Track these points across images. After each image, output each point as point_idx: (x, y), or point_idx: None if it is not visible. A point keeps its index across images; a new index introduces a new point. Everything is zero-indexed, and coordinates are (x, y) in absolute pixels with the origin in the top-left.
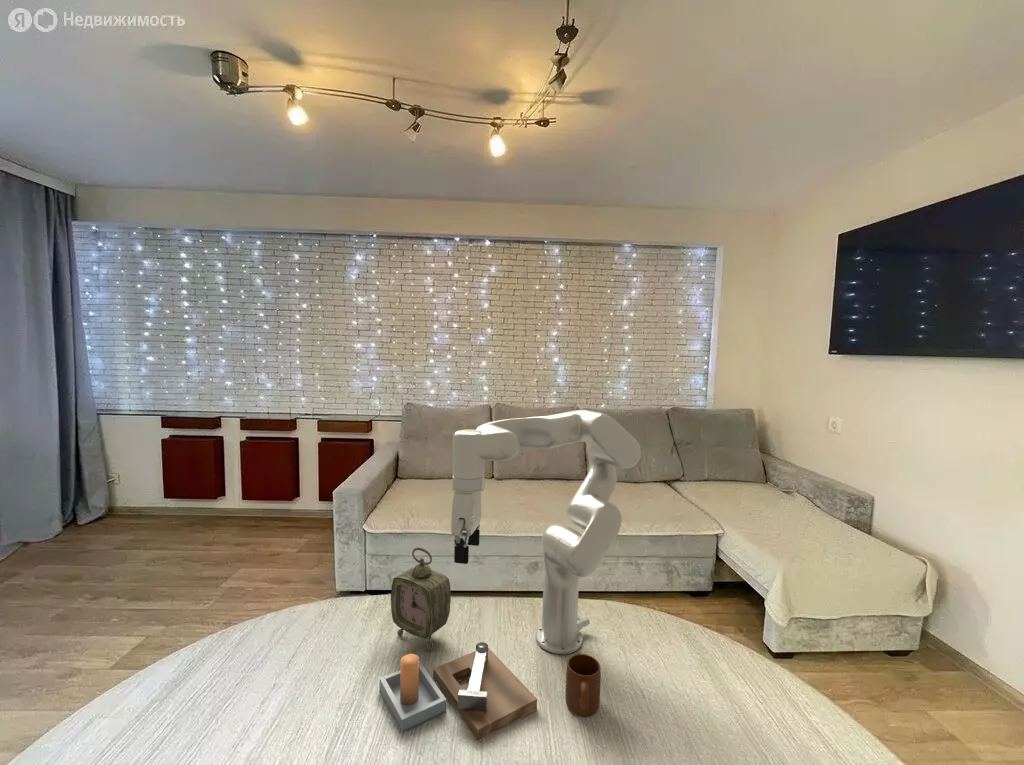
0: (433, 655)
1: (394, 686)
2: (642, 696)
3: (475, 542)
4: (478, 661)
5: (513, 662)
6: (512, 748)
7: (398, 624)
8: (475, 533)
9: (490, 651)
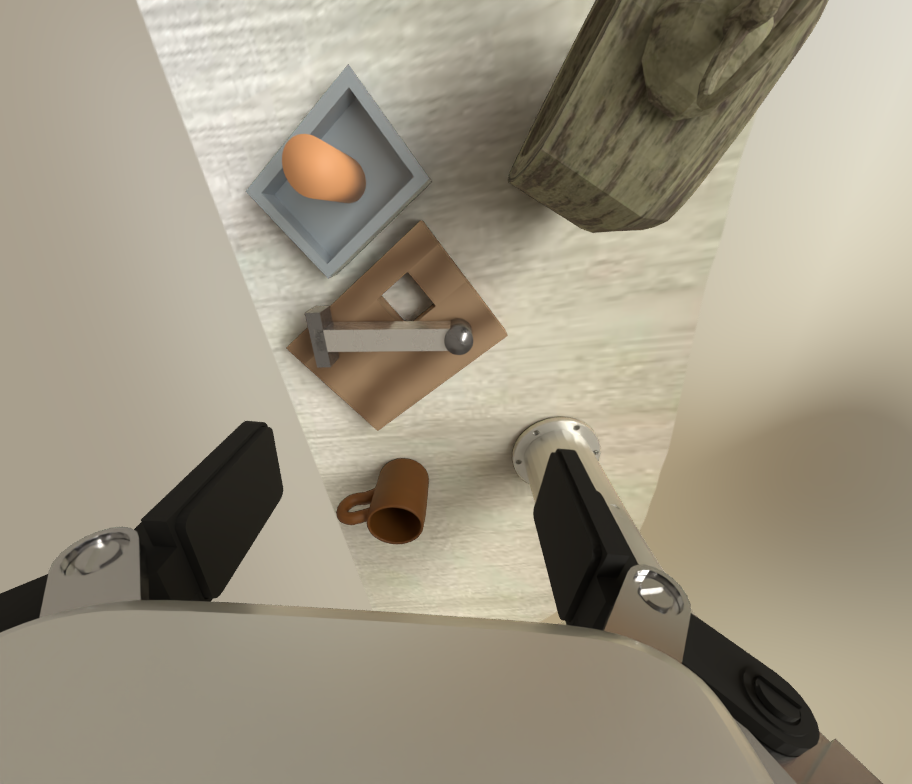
0: (500, 198)
1: (371, 122)
2: (433, 537)
3: (542, 516)
4: (412, 338)
5: (487, 380)
6: (301, 391)
7: (582, 27)
8: (560, 582)
9: (491, 344)
